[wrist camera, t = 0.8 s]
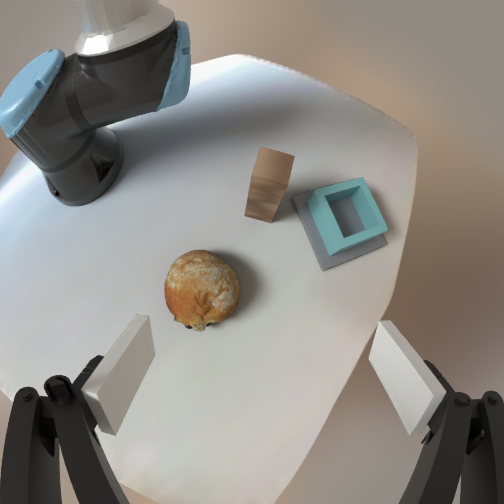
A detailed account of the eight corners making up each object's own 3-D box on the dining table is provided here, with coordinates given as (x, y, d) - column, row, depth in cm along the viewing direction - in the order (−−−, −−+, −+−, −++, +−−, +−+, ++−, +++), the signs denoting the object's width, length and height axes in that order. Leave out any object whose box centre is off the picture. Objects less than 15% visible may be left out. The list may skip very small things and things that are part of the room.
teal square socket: (291, 198, 42) (298, 183, 37) (353, 181, 44) (365, 166, 39) (322, 271, 39) (334, 264, 34) (383, 245, 41) (399, 236, 36)
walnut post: (244, 215, 40) (251, 174, 29) (251, 192, 41) (260, 146, 30) (270, 223, 40) (287, 185, 29) (276, 199, 41) (294, 156, 30)
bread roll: (244, 293, 41) (261, 265, 35) (210, 349, 35) (222, 329, 28) (189, 259, 42) (196, 225, 36) (149, 308, 35) (147, 280, 29)
